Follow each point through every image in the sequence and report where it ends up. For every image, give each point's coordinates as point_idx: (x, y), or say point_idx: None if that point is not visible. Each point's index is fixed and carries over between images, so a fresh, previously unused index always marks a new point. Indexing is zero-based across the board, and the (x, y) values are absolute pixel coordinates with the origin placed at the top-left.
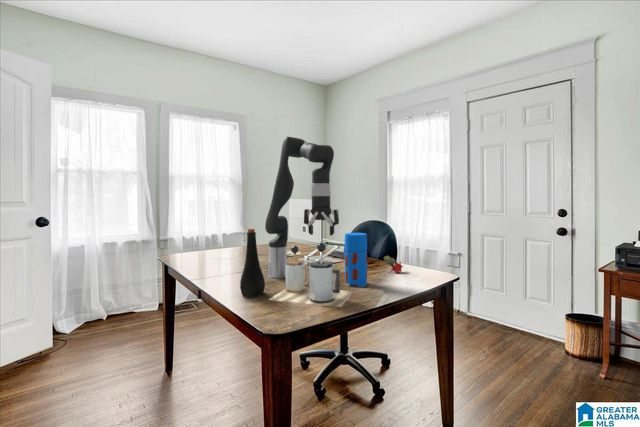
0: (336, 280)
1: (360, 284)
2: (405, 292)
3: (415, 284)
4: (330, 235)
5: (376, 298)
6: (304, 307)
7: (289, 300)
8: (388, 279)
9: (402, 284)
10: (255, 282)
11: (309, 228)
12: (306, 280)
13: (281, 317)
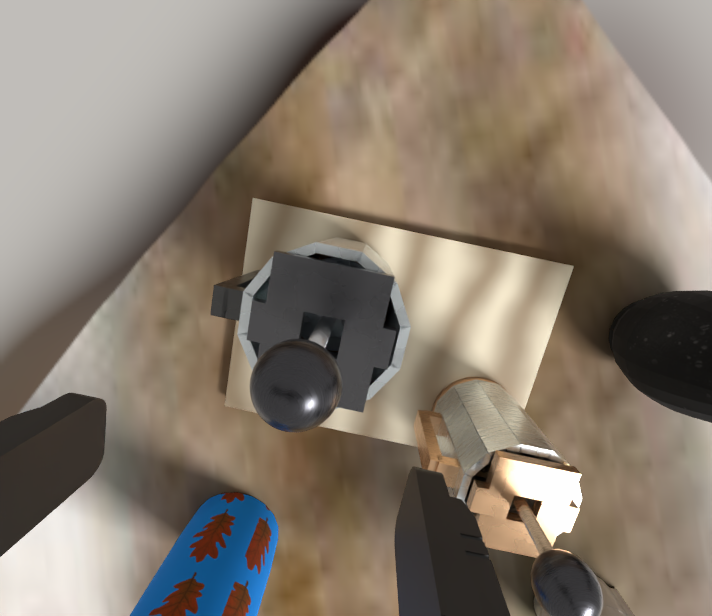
0: (249, 280)
1: (210, 503)
2: None
3: None
4: (98, 403)
5: (141, 359)
6: (406, 227)
7: (477, 264)
8: (119, 596)
9: (62, 535)
10: (695, 309)
11: (472, 574)
12: (427, 420)
13: (482, 94)
